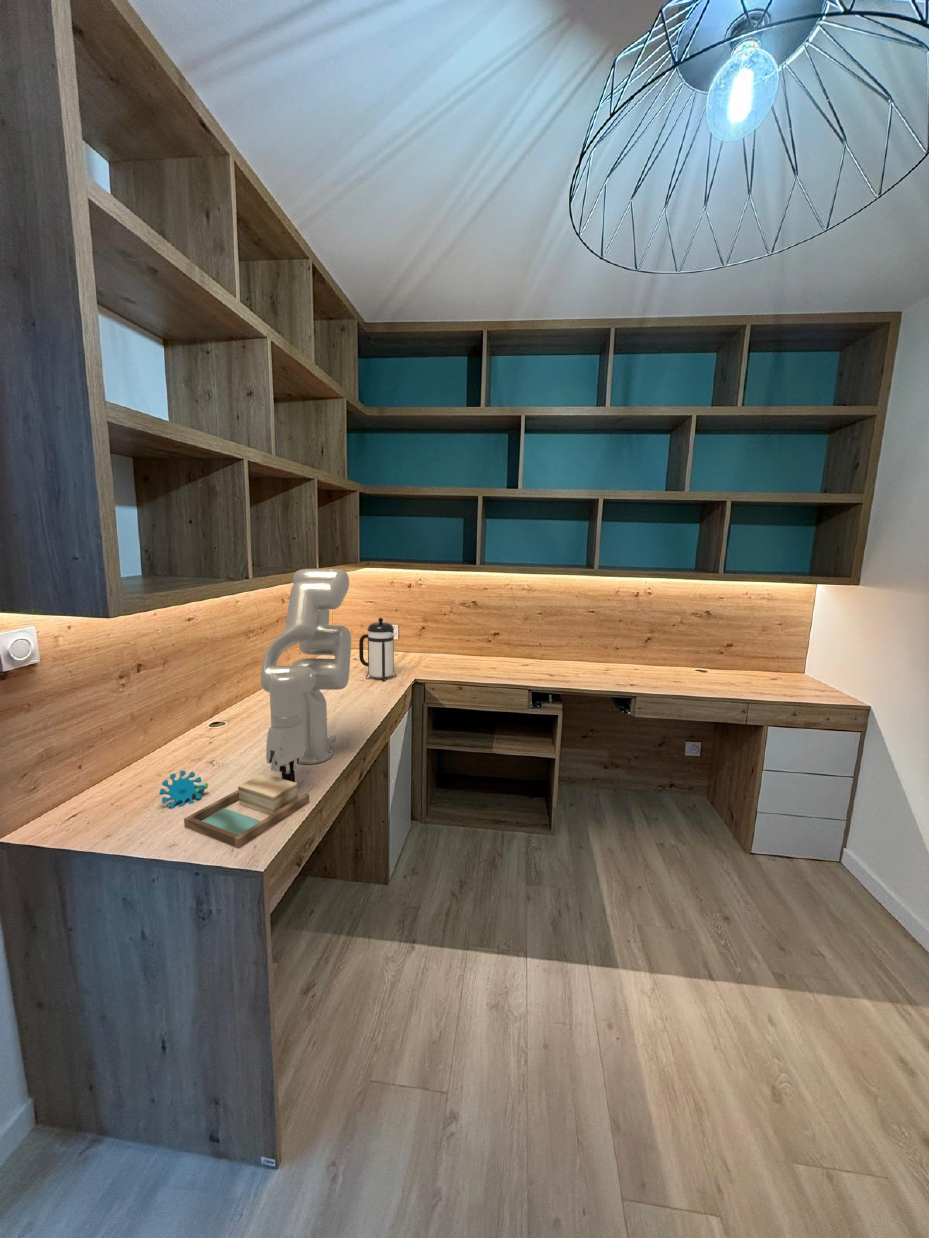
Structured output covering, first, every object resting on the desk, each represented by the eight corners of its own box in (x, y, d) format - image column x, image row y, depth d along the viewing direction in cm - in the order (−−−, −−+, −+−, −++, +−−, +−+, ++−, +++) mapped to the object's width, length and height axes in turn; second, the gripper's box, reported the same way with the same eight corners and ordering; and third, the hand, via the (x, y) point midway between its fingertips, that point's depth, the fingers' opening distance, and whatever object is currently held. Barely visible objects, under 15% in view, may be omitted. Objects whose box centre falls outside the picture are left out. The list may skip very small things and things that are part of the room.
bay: (259, 789, 138) (258, 779, 138) (309, 805, 131) (309, 794, 130) (184, 830, 119) (183, 818, 118) (239, 851, 111) (238, 839, 111)
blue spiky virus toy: (158, 810, 124) (160, 771, 130) (157, 818, 128) (159, 779, 133) (208, 804, 130) (208, 767, 135) (205, 812, 134) (206, 776, 139)
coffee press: (393, 672, 259) (393, 614, 254) (398, 681, 244) (398, 619, 239) (359, 674, 254) (358, 615, 249) (361, 683, 239) (361, 620, 234)
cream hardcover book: (264, 790, 136) (263, 772, 135) (298, 801, 131) (297, 783, 130) (239, 804, 129) (238, 785, 128) (274, 816, 124) (273, 797, 123)
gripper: (295, 709, 141) (298, 770, 144) (253, 726, 128) (256, 793, 131) (316, 713, 138) (318, 776, 141) (275, 731, 125) (277, 800, 127)
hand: (288, 784), depth 136 cm, fingers closed
